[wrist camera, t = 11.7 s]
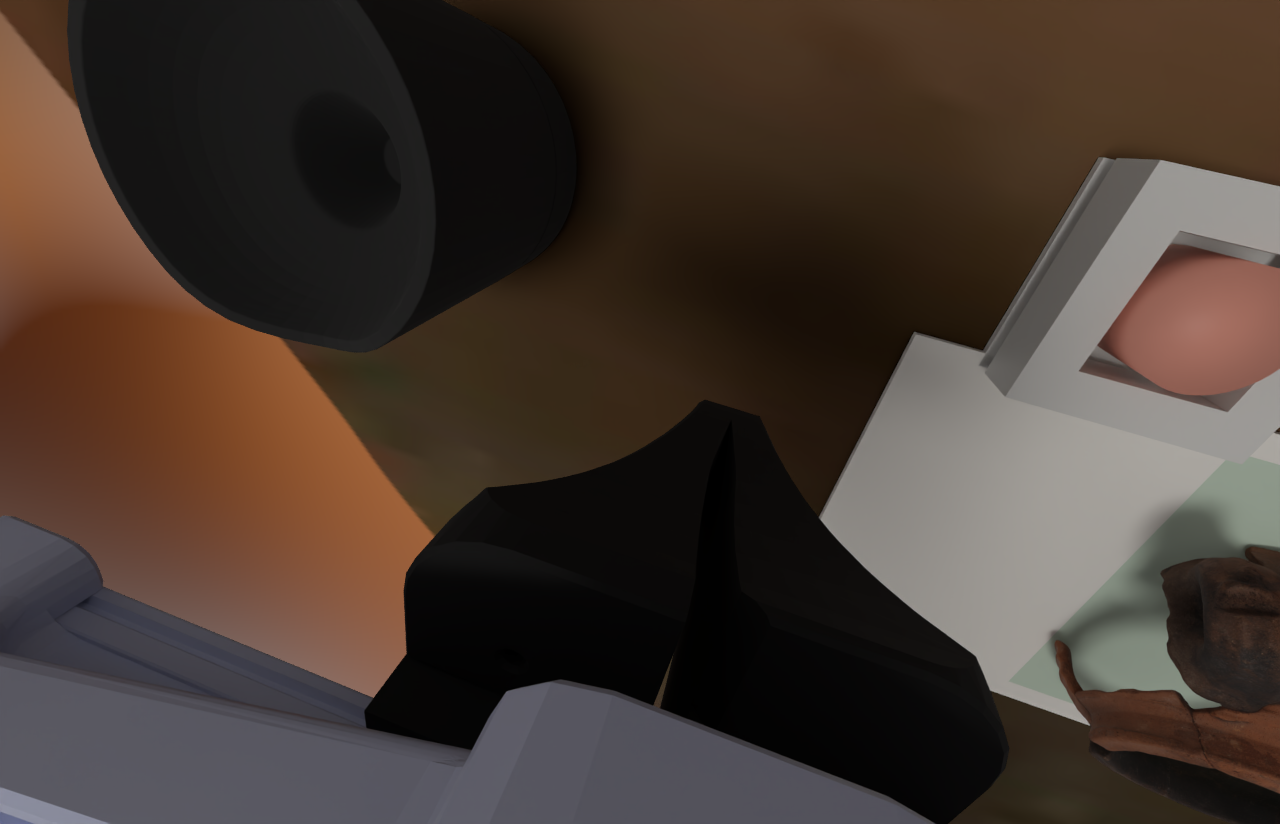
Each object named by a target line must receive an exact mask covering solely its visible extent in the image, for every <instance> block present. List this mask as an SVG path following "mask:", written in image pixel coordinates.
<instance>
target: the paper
mask: <svg viewBox="0 0 1280 824" xmlns="http://www.w3.org/2000/svg"><path fill="white" fill-rule="evenodd" d="M985 354H986V353H985V352H984V351H983V350H979V349H975V348H972V347H968V346H964V345H961V344H957V343H954V342H950V341H946V340H943V339H939V338H935V337H932V336H928V335H925V334H921V333H917V332H914V333H913V335H912V337H911V339H910V341H909V343H908V344H907V346H906V348H905V350H904V352H903V354H902V356H901V358H900V360H899V362H898V364H897V366H896V368H895V370H894V372H893V374H892V376H891V378H890V380H889V382H888V383H887V385H886V387H885V389H884V391H883V393H882V395H881V397H880V399H879V401H878V403H877V405H876V407H875V409H874V411H873V413H872V415H871V417H870V419H869V421H868V422H867V424H866V426H865V428H864V430H863V432H862V434H861V436H860V438H859V440H858V442H857V444H856V446H855V448H854V450H853V452H852V454H851V456H850V458H849V460H848V462H847V463H846V465H845V467H844V469H843V471H842V473H841V475H840V477H839V479H838V481H837V483H836V485H835V487H834V489H833V491H832V493H831V495H830V497H829V499H828V501H827V502H826V504H825V506H824V508H823V510H822V512H821V514H820V516H819V518H820V520H821V521H822V522H823V523H824V525H825V526H826V527H827V528H828V530H829V531H830V532H831V533H832V534H833V535H834V536H835V537H836V539H837V540H838V541H839V542H840V543H841V544H842V545H843V546H844V547H845V548H846V549H847V550H848V551H849V552H850V553H851V554H852V555H853V556H854V557H855V558H856V559H857V560H858V561H859V562H860V563H861V564H862V565H863V566H864V567H865V568H866V569H867V570H868V571H869V572H870V573H871V574H872V575H873V576H874V577H876V578H877V579H878V580H879V581H880V582H881V583H882V584H883V585H884V586H886V587H887V588H888V589H889V590H890V591H892V592H893V593H894V594H895V595H896V596H897V597H899V598H900V599H901V600H902V601H903V602H904V603H906V604H907V605H908V606H909V607H910V608H912V609H913V610H914V611H915V612H917V613H918V614H919V615H921V616H922V617H923V618H925V619H926V620H927V621H929V622H930V623H931V624H933V625H934V626H936V627H937V628H938V629H940V630H941V631H942V632H944V633H945V634H946V635H948V636H949V637H950V638H952V639H953V640H955V641H956V642H957V643H959V644H960V645H961V646H963V647H964V648H965V649H967V650H968V651H969V652H971V653H972V654H974V655H975V656H976V658H977V660H978V662H979V664H980V667H981V669H982V671H983V674H984V676H985V679H986V681H987V684H988V686H989V689H990V690H991V691H993V692H996V693H999V694H1002V695H1005V696H1008V697H1010V698H1013V699H1016V700H1019V701H1022V702H1025V703H1027V704H1030V705H1033V706H1036V707H1039V708H1042V709H1044V710H1047V711H1050V712H1053V713H1056V714H1059V715H1061V716H1064V717H1067V718H1070V719H1073V720H1076V721H1078V722H1081V723H1084V724H1087V725H1090V724H1089V723H1088V722H1087V720H1086V719H1085V718H1084V717H1083V716H1082V714H1081V713H1080V712H1079V711H1078V710H1077V708H1076V706H1075V705H1074V703H1073V701H1072V700H1071V698H1070V697H1069V695H1068V692H1067V690H1066V688H1065V687H1064V685H1063V684H1062V682H1061V680H1060V677H1059V667H1058V666H1057V663H1056V650H1055V641H1056V640H1059V641H1062V642H1063V643H1065V644H1066V645H1067V646H1068V647H1069V649H1070V651H1071V656H1072V665H1073V671H1074V675H1075V677H1076V680H1077V682H1078V683H1079V685H1080V686H1081V688H1082V689H1083V691H1084V690H1101V691H1105V692H1114V691H1117V690H1119V689H1137V690H1141V691H1153V690H1175V691H1177V692H1179V693H1180V694H1181V695H1182V696H1183V698H1184V699H1185V700H1186V701H1187V702H1188V704H1189V706H1190V707H1191V708H1193V709H1200V708H1212V707H1219V706H1222V705H1221V704H1219V703H1216V702H1213V701H1209V700H1206V699H1204V698H1202V697H1201V696H1199V695H1197V694H1196V693H1194V692H1193V691H1192V690H1191V689H1190V688H1189V687H1188V686H1187V685H1186V684H1185V682H1184V681H1183V679H1182V677H1181V674H1180V673H1179V671H1178V669H1177V668H1176V666H1175V665H1174V663H1173V662H1172V660H1171V659H1170V657H1169V655H1168V652H1167V641H1168V632H1167V628H1166V620H1167V618H1168V617H1169V615H1170V611H1169V608H1168V606H1167V599H1166V597H1165V595H1164V591H1163V589H1162V584H1163V582H1164V579H1163V578H1162V576H1161V575H1160V573H1161V571H1162V570H1164V569H1166V568H1168V567H1170V566H1172V565H1175V564H1179V563H1182V562H1186V561H1190V560H1194V559H1200V558H1212V557H1218V558H1228V557H1237V558H1242V559H1245V560H1248V559H1247V558H1246V556H1245V550H1246V549H1247V548H1249V547H1259V548H1265V549H1269V550H1274V551H1278V552H1280V432H1276V431H1275V432H1274V433H1273V434H1272V435H1271V436H1270V437H1269V438H1268V439H1267V440H1266V441H1265V442H1264V443H1263V444H1262V445H1261V446H1260V447H1259V448H1258V449H1257V450H1256V451H1255V452H1254V453H1253V454H1252V455H1251V456H1250V457H1249V458H1248V459H1247V460H1246V461H1245V462H1244V463H1243V464H1238V463H1235V462H1231V461H1228V460H1224V459H1221V458H1217V457H1214V456H1210V455H1207V454H1203V453H1200V452H1196V451H1193V450H1189V449H1186V448H1182V447H1179V446H1175V445H1172V444H1168V443H1165V442H1161V441H1158V440H1154V439H1151V438H1147V437H1144V436H1140V435H1137V434H1133V433H1130V432H1126V431H1123V430H1119V429H1116V428H1112V427H1108V426H1105V425H1101V424H1098V423H1094V422H1091V421H1087V420H1084V419H1080V418H1077V417H1073V416H1070V415H1066V414H1063V413H1059V412H1056V411H1052V410H1049V409H1045V408H1042V407H1038V406H1035V405H1031V404H1028V403H1024V402H1021V401H1017V400H1014V399H1010V398H1007V397H1005V396H1004V395H1003V394H1002V393H1001V392H1000V391H999V389H998V388H997V387H996V386H995V385H994V384H993V382H992V381H991V380H990V379H989V378H988V377H987V375H986V374H985V371H986V370H987V367H981V366H979V364H980V362H981V360H983V357H986V356H984V355H985ZM989 357H991V356H990V355H989ZM989 357H988V356H987V358H989ZM993 358H994V357H993ZM985 359H986V358H985ZM987 361H988V360H986V362H987ZM989 362H990V360H989ZM991 362H992V360H991ZM983 363H984V362H983ZM983 363H982V364H983ZM986 365H987V364H986ZM989 365H990V364H989ZM984 366H985V365H984ZM987 366H988V365H987ZM1248 561H1249V560H1248Z"/></svg>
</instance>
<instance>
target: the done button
mask: <svg viewBox="0 0 1280 824" xmlns="http://www.w3.org/2000/svg"><path fill="white" fill-rule="evenodd" d="M1097 346H1098V347H1100V348H1101V349H1103V350H1104V351H1106V352H1107V353H1109V354H1110V355H1112V356H1113V357H1115V358H1116V359H1118V360H1119V361H1121V362H1123V363H1124V364H1126V365H1127V366H1129V367H1130V368H1132V369H1133V370H1135V371H1136V372H1138V373H1139V374H1141V375H1142V376H1144V377H1145V378H1147V379H1149V380H1150V381H1152V382H1153V383H1155V384H1156V385H1158V386H1160V387H1162V388H1164V389H1166V390H1168V391H1171V392H1174V393H1179V394H1184V395H1215V394H1220V393H1226V392H1230V391H1234V390H1237V389H1240V388H1243V387H1246V386H1249V385H1251V384H1253V383H1256V382H1258V381H1260V380H1262V379H1264V378H1266V377H1268V376H1269V375H1271V374H1273V373H1274V372H1276V371H1277V370H1279V369H1280V268H1276V267H1272V266H1268V265H1264V264H1260V263H1256V262H1252V261H1248V260H1244V259H1240V258H1236V257H1232V256H1228V255H1224V254H1220V253H1216V252H1213V251H1209V250H1205V249H1201V248H1197V247H1193V246H1187V245H1176V244H1172V245H1169V246H1168V247H1167V249H1166V250H1165V251H1164V253H1163V254H1162V256H1161V257H1160V258H1159V260H1158V261H1157V263H1156V264H1155V265H1154V267H1153V268H1152V270H1151V271H1150V272H1149V274H1148V275H1147V276H1146V278H1145V279H1144V281H1143V282H1142V283H1141V285H1140V286H1139V288H1138V289H1137V290H1136V292H1135V293H1134V295H1133V296H1132V297H1131V299H1130V300H1129V302H1128V303H1127V304H1126V306H1125V307H1124V308H1123V310H1122V311H1121V313H1120V314H1119V315H1118V317H1117V318H1116V320H1115V321H1114V322H1113V324H1112V325H1111V327H1110V328H1109V329H1108V331H1107V332H1106V333H1105V335H1104V336H1103V338H1102V339H1101V340H1100V342H1099V343H1098V345H1097Z"/></svg>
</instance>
